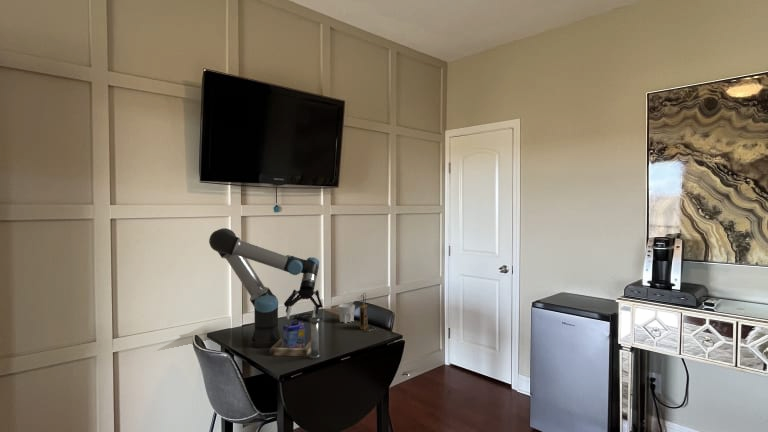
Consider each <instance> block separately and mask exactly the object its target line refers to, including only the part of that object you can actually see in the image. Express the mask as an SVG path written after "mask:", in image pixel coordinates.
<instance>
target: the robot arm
mask: <svg viewBox="0 0 768 432" xmlns="http://www.w3.org/2000/svg"><path fill="white" fill-rule="evenodd" d="M208 243H209V246H210V248H211V249H212V250H213V251H215V252H217V253H218V254H219V256H220V258H222V259H224V260H226V261H227V262H228V264H229V266H230V268H231V269H232V270H233V272H234V273H235V275H236V276H237V278H238V279H239V281H240V282H241V284H242V286H244V287H243V288H245V290H246V291H247V293H248V294H249V296H250V299H249V302H251V304H252V306H253V307H254V312H253V313H254V330H253V333H252V336H251V338H250V345H251V347H255V348H260V349H265V348H271V347H272V346H273V345H274V344H276V343H277V342H278V341H279V340H280V339H281V338H282V334H281V331H280V328H279V299H278V297H277V296H276V295H275V294H273V292H272V290H271V289H270V288H269V287H268V286H265V285H264V283H263V282H262V281H261V279H260V277H259V275H257V273H256V271H255V269H254V268H253V267H252V265H251V263H249V261H248V260H250V261H254V262H257V263H260V264H261V265H262V264H263V265H266V266H268V267H271V268H275V269H278V270H281V271H284V272H287V273H289V274H291V275H292V276H298V275H299V274H302V278H301V282H300V286H299V287H300V288H299V290H296V289H293V291H292V293H291V294H290V295H289V297H288V298H287V299H286V300H285V301H284V303H283V305H284V307H285V313H286V316H285V319H286V320H288V321H289V320H290V315H291V311H292V307H293V306H294V305H295V304H297V303H298V302H299V301H301V300H309V299H310V301H311V302H312V304H313V305H314V306H313V312H312V314H313V316H312V318H314V317H315V316H316V315H319V310H320V308H321V309H322V308H323V303H322V300H321V298H320V291H319V289H317V290H315V287H316V282H317V276H318V272H319V270H320V260H319V259H318V258H316V257H308V258H307V259H303V258H300V257H296V256H294V255H290V254H286V255H284V254H281V253H278V252H276V251H272V250H269V249H267V248H264V247H261V246H258V245H255V244H252V243H249V242H246V241H243V240H242V239H241V238H240V237H238V236H236V233H235V232H234V231H233V230H232V229H229V228H226V227H225V228H220V229H219V228H218V229H217V230H214V231H213V232H212V233H211V234H210V237H209V239H208ZM313 295H315V297H316V299H317V300H318V303H317V302H316V300H315V298H314V297H313Z"/></svg>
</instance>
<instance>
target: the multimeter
mask: <svg viewBox="0 0 768 432" xmlns="http://www.w3.org/2000/svg"><path fill="white" fill-rule="evenodd" d="M366 295H367V294H366V292H363V293H362V294H361V295H360V297H362V300H363V301H362V304H361V305H360V306H359V330H360V329H361V330H362V332H363V333H368V331H369V332H372V331H371V330H372V329H373V328H374V329H373V330H378V329H376V328H375V327H373V326H372V325H371V324H370V328H371V329H369V330H367V331H364V330H366V328H368V304H367V302H366V301H367V300H366V297H367V296H366Z"/></svg>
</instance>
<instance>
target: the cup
mask: <svg viewBox="0 0 768 432" xmlns="http://www.w3.org/2000/svg"><path fill="white" fill-rule="evenodd" d="M337 307H338V312H339V313H338V314H339V322H340V323H341V322H344V323H343V324H348V323H347V322H351V321H353V322H354V318H355V308H356V305H355V304H353V303H341V304H339V305H338V306H337ZM351 323H352V322H351Z"/></svg>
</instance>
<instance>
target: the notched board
mask: <svg viewBox="0 0 768 432" xmlns="http://www.w3.org/2000/svg"><path fill="white" fill-rule="evenodd" d="M310 354H311V340H309V342H308V343H307V344H305V348H283V338H282V337H281V339H280V340H279V341H278V342H277V343H276V344H274V345H273V346H272V347H269V356H281V357H282V356H283V357H284V356H285V357H308V356H309V355H310Z"/></svg>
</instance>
